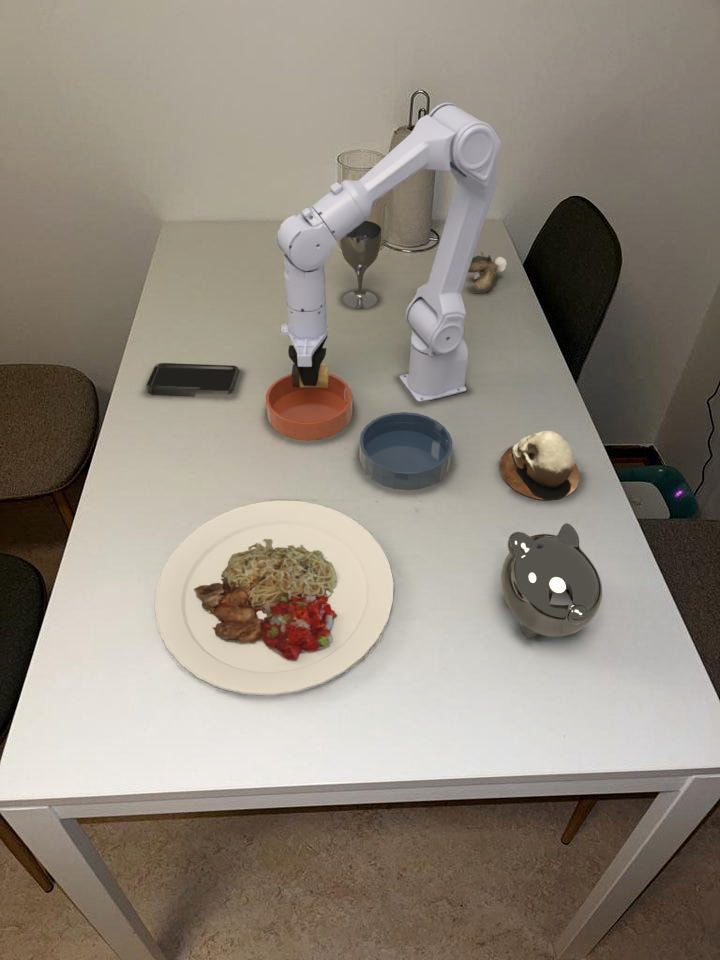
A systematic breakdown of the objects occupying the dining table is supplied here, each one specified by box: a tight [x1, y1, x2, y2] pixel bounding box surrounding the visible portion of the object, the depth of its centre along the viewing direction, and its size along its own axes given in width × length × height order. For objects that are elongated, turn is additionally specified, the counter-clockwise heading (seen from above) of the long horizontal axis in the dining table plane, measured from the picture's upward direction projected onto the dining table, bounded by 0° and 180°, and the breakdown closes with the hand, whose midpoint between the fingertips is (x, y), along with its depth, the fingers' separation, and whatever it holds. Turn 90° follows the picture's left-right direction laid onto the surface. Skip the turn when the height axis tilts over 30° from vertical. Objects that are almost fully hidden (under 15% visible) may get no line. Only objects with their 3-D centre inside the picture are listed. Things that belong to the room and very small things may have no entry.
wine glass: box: [339, 220, 382, 310], centre depth 137 cm, size 8×8×15 cm
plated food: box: [154, 499, 394, 696], centre depth 87 cm, size 30×30×3 cm
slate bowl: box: [358, 411, 454, 491], centre depth 106 cm, size 14×14×4 cm
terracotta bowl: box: [265, 373, 353, 441], centre depth 113 cm, size 14×14×4 cm
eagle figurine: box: [468, 250, 507, 294], centre depth 145 cm, size 8×7×9 cm
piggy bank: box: [500, 523, 603, 639], centre depth 83 cm, size 11×15×12 cm
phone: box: [145, 362, 240, 397], centre depth 121 cm, size 8×1×15 cm
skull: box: [499, 430, 581, 501], centre depth 104 cm, size 12×10×10 cm
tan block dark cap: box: [291, 363, 330, 388], centre depth 109 cm, size 6×3×3 cm, turn 89°
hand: (310, 378), depth 109 cm, fingers closed on tan block dark cap, 2 cm apart
